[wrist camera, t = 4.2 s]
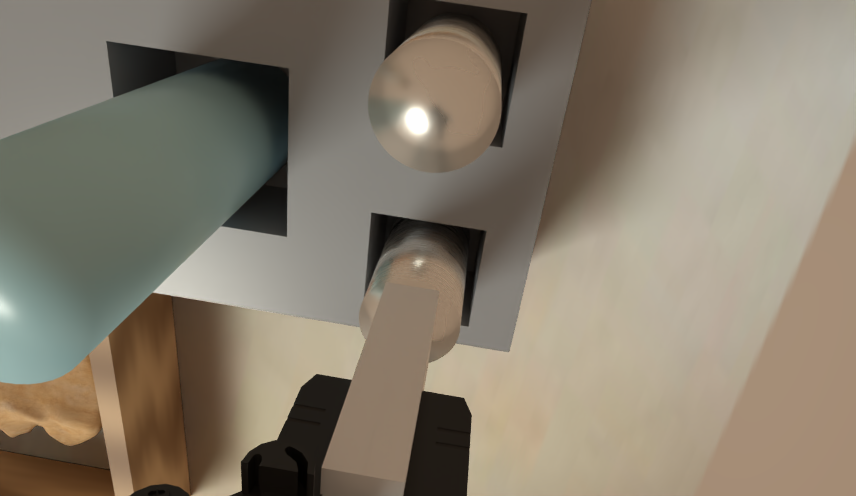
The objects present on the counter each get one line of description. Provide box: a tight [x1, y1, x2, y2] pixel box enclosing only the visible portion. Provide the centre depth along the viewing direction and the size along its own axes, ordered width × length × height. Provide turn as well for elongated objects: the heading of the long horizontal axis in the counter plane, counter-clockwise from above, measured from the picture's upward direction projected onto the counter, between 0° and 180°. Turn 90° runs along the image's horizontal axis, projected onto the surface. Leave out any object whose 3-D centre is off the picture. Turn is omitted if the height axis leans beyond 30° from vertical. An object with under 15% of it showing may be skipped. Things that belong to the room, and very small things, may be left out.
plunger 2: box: [359, 217, 470, 363], centre depth 20 cm, size 3×3×6 cm
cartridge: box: [0, 58, 289, 384], centre depth 16 cm, size 4×4×13 cm
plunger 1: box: [368, 13, 502, 173], centre depth 16 cm, size 3×3×6 cm
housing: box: [0, 0, 592, 352], centre depth 21 cm, size 12×18×6 cm, turn 83°
